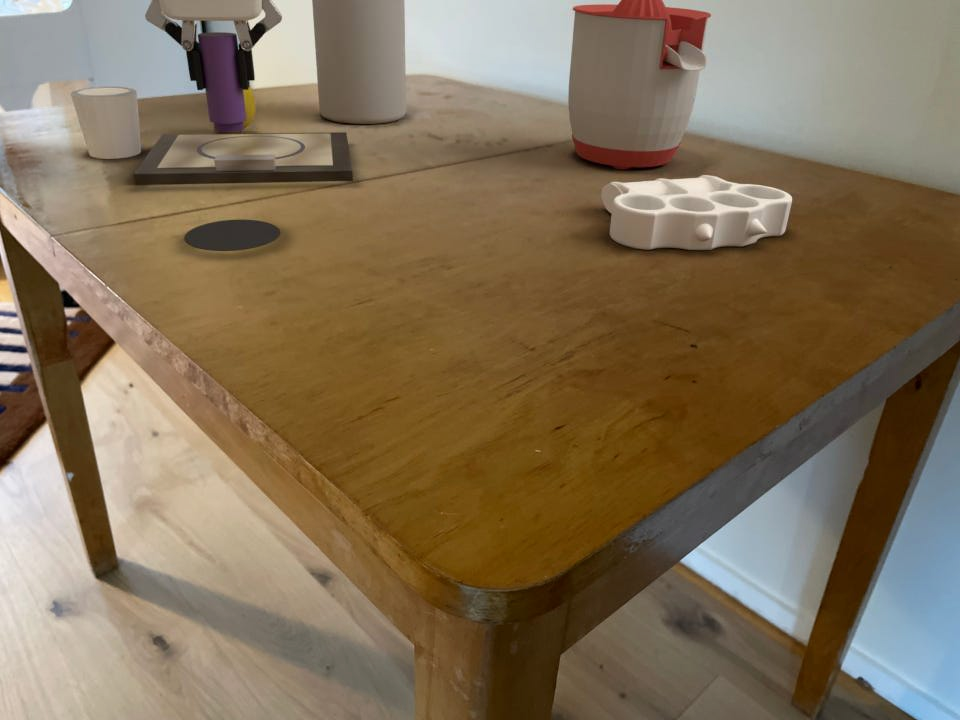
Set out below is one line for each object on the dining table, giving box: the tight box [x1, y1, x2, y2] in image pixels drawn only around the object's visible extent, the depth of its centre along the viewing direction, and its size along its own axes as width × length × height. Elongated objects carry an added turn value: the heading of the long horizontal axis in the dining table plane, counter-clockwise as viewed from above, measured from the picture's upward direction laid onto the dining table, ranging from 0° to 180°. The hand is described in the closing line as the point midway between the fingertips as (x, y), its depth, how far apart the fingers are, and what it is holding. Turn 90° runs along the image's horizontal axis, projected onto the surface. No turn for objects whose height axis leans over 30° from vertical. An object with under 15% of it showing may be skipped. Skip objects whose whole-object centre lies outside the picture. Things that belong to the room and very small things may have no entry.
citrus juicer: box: [567, 0, 712, 170], centre depth 92 cm, size 16×17×20 cm
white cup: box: [70, 86, 142, 160], centre depth 90 cm, size 7×7×7 cm
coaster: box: [183, 219, 281, 252], centre depth 68 cm, size 8×8×1 cm
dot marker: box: [197, 31, 246, 133], centre depth 86 cm, size 4×4×10 cm
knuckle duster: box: [600, 174, 793, 251], centre depth 74 cm, size 3×18×15 cm
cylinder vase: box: [311, 0, 407, 125], centre depth 108 cm, size 12×12×25 cm
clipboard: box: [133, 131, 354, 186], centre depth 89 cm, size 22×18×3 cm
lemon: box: [231, 85, 256, 133], centre depth 100 cm, size 6×6×8 cm
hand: (223, 86), depth 86 cm, fingers closed on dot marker, 4 cm apart
